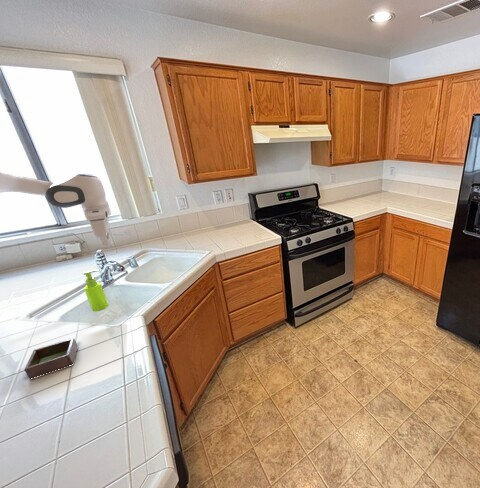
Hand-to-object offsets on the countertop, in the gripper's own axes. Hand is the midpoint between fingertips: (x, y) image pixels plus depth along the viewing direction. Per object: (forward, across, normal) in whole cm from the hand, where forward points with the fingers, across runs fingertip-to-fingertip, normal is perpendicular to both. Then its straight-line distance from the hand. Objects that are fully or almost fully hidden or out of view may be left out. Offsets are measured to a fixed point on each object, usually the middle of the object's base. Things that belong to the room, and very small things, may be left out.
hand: (106, 241), depth 119 cm
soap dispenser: (+31, +5, -8) cm, 32 cm away
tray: (+31, +36, -19) cm, 51 cm away
